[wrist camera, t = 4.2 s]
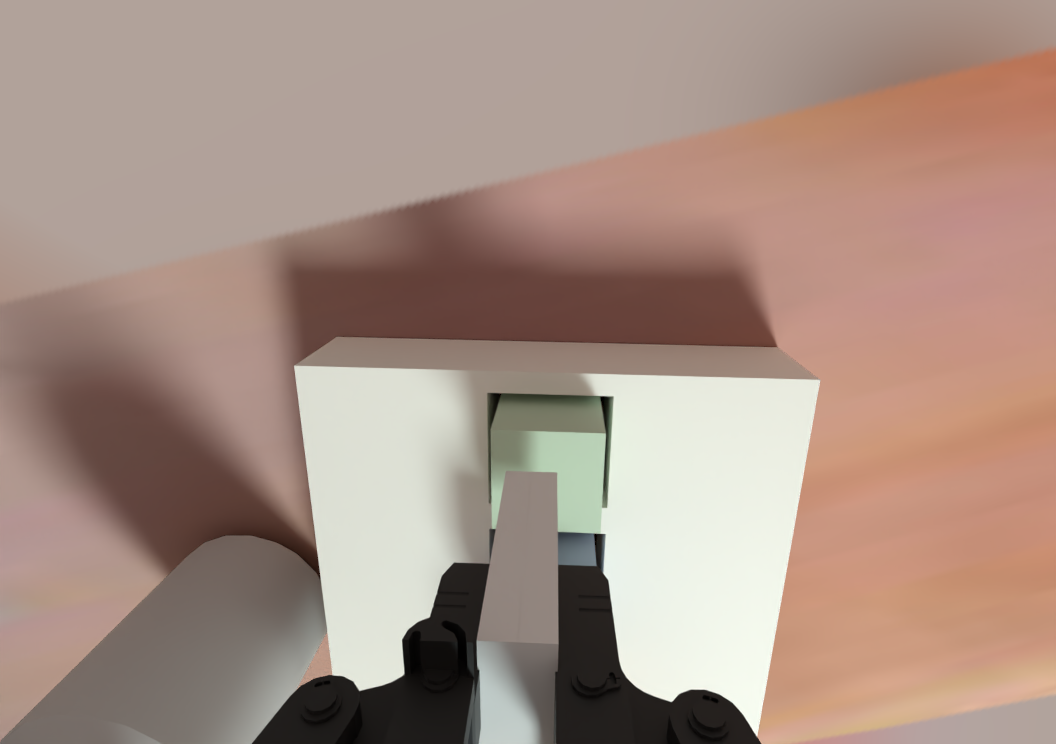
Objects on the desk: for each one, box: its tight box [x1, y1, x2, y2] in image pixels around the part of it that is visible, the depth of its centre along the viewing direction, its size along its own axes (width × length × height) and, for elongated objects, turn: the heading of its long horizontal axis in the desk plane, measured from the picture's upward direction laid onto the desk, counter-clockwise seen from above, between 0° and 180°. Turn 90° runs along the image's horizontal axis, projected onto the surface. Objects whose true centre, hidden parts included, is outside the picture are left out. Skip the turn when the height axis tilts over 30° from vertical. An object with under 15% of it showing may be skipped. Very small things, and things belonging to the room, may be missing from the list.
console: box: [294, 337, 820, 736], centre depth 24 cm, size 18×17×4 cm
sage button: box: [491, 393, 606, 533], centre depth 21 cm, size 4×4×5 cm
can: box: [0, 536, 327, 744], centre depth 23 cm, size 8×8×12 cm
